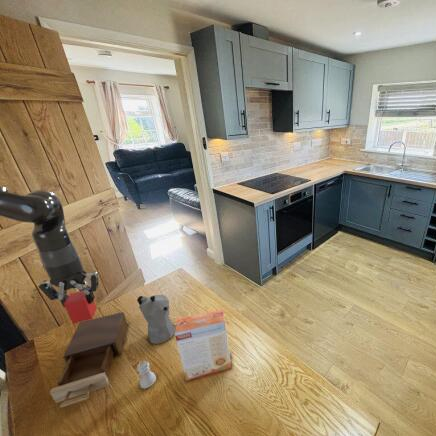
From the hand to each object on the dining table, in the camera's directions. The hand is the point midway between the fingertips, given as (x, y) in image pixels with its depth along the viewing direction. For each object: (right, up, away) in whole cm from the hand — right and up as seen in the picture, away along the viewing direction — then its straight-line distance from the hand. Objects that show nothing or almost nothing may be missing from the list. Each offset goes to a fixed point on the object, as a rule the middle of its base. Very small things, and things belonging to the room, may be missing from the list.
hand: (80, 304), depth 76 cm
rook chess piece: (+23, -24, -1) cm, 33 cm away
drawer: (+4, -23, -2) cm, 23 cm away
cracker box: (+40, -22, +4) cm, 46 cm away
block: (0, -5, +2) cm, 5 cm away
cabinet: (-1, -19, +10) cm, 21 cm away
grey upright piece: (+17, -17, +15) cm, 29 cm away
